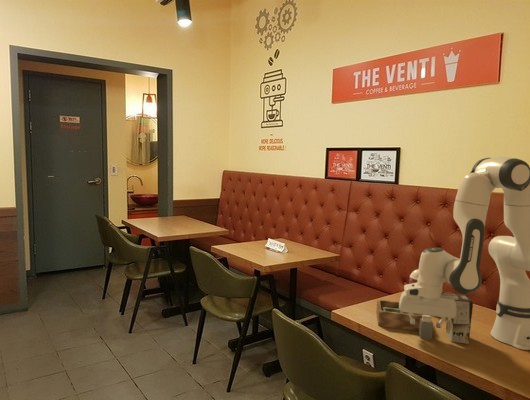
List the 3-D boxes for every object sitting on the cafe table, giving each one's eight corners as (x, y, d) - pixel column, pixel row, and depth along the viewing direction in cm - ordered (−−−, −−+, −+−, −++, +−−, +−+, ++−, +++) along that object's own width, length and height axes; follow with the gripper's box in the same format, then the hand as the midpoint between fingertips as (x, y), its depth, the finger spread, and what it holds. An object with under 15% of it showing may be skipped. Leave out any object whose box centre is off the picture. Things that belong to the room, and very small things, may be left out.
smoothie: (430, 308, 181) (434, 266, 179) (414, 309, 179) (418, 266, 177) (418, 302, 189) (422, 261, 187) (403, 303, 187) (407, 261, 185)
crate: (419, 317, 170) (420, 304, 169) (425, 331, 156) (426, 317, 155) (376, 312, 173) (377, 299, 173) (378, 325, 160) (379, 311, 159)
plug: (429, 335, 153) (431, 315, 152) (431, 339, 149) (433, 319, 148) (418, 333, 154) (420, 314, 153) (420, 338, 150) (422, 318, 149)
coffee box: (469, 344, 147) (473, 302, 145) (450, 342, 148) (455, 300, 146) (462, 333, 156) (466, 294, 154) (445, 331, 157) (448, 292, 155)
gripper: (456, 291, 150) (452, 326, 152) (400, 284, 154) (396, 318, 156) (461, 296, 144) (457, 333, 145) (402, 289, 148) (398, 325, 150)
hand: (425, 325), depth 151 cm, fingers open, 8 cm apart
